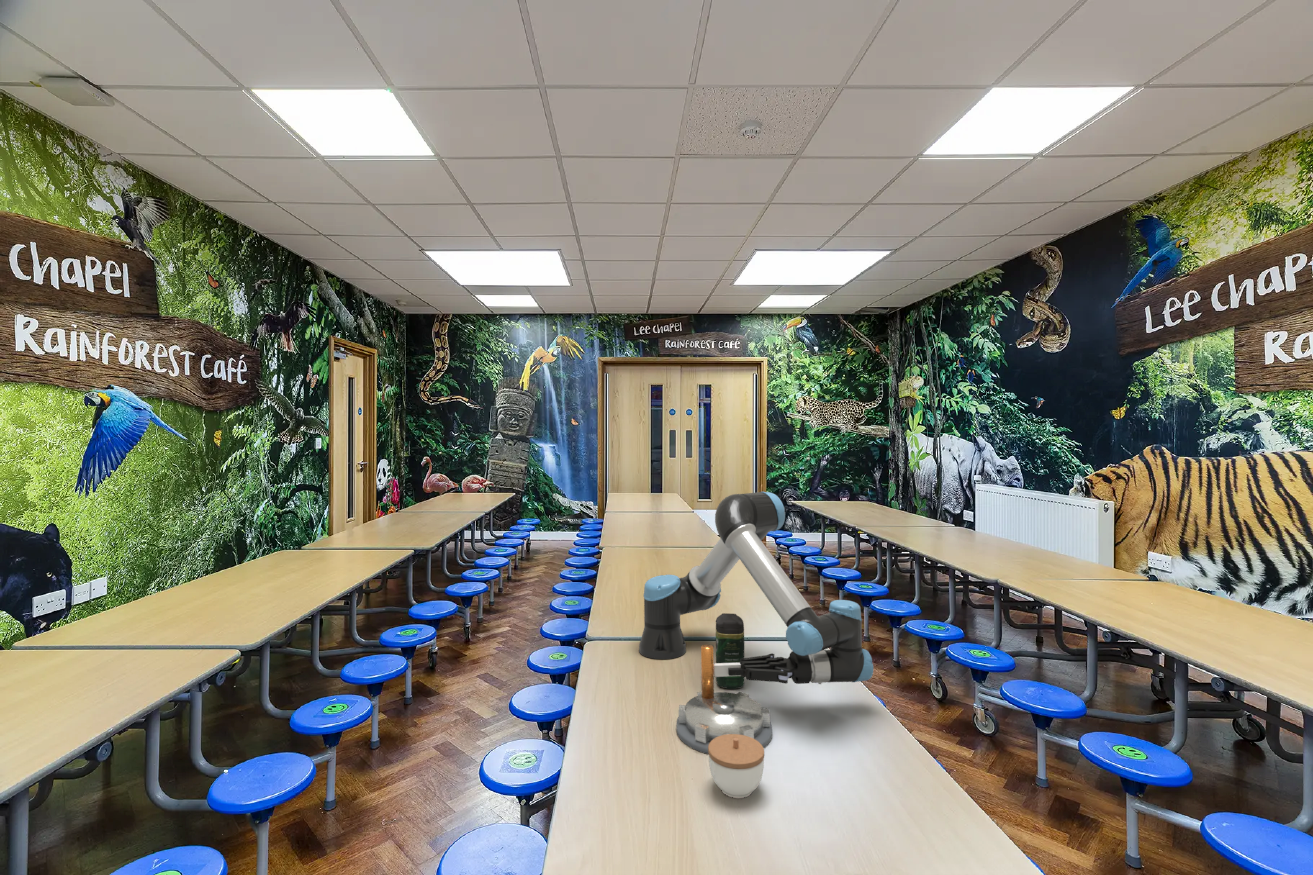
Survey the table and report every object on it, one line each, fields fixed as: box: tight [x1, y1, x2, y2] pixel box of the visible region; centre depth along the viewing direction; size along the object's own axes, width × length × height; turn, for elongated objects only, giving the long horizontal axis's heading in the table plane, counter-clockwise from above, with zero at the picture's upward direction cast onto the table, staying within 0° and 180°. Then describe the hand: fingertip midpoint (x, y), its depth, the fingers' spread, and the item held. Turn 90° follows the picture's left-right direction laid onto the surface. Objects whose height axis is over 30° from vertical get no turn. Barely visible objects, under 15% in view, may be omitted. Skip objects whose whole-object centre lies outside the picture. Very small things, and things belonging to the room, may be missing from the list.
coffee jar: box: [715, 612, 745, 690], centre depth 154 cm, size 10×8×19 cm
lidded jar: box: [708, 734, 765, 799], centre depth 106 cm, size 11×11×9 cm
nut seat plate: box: [676, 716, 773, 755], centre depth 128 cm, size 22×22×2 cm
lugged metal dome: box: [678, 644, 771, 744], centre depth 128 cm, size 21×19×15 cm
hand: (714, 670), depth 136 cm, fingers closed
